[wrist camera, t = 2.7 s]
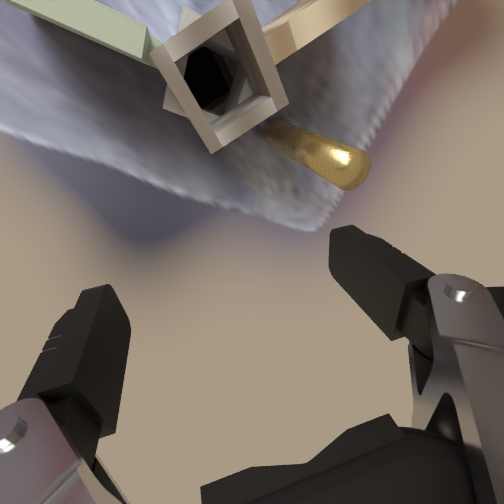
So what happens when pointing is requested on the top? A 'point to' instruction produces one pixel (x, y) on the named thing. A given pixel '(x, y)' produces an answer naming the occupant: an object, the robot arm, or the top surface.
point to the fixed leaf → (246, 59)
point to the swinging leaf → (134, 40)
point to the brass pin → (320, 154)
